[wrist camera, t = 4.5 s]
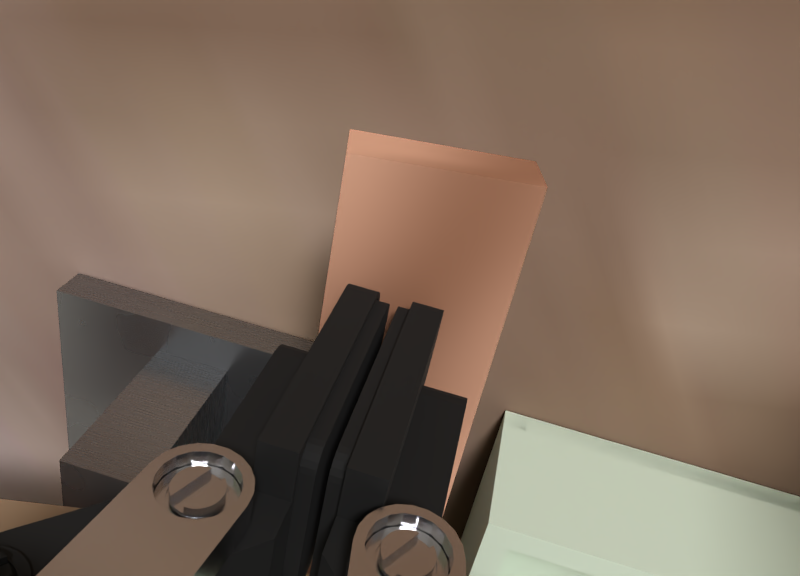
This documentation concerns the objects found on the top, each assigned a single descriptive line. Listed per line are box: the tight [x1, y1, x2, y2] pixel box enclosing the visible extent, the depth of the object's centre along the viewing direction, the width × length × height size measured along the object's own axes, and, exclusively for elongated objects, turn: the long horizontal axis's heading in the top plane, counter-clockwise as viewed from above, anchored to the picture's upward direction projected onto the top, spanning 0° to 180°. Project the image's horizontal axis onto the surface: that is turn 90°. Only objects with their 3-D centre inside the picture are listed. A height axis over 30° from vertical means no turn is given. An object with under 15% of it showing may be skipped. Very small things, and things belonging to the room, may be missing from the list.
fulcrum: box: [57, 274, 314, 508], centre depth 21 cm, size 8×12×5 cm, turn 169°
